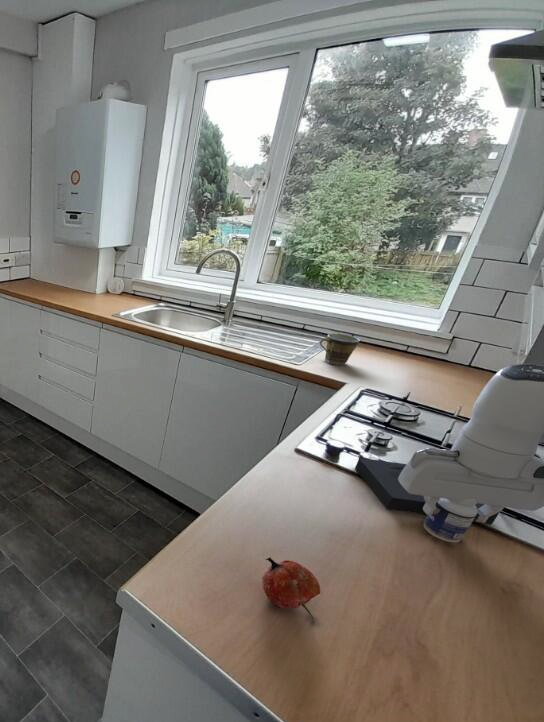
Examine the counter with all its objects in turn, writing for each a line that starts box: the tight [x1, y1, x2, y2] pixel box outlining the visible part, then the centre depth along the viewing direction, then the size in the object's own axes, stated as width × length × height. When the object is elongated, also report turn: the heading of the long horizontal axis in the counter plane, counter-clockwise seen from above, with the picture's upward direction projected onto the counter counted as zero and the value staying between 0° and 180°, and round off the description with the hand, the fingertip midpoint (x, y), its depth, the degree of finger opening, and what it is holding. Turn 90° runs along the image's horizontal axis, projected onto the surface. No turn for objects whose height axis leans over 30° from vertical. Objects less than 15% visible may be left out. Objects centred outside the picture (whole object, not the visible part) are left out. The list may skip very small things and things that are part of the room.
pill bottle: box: [423, 498, 478, 543], centre depth 76 cm, size 5×5×10 cm
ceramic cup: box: [319, 333, 361, 366], centre depth 155 cm, size 13×10×10 cm
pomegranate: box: [261, 556, 321, 620], centre depth 63 cm, size 7×7×10 cm
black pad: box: [354, 458, 500, 525], centre depth 87 cm, size 18×14×3 cm
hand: (452, 516), depth 76 cm, fingers open, 6 cm apart
